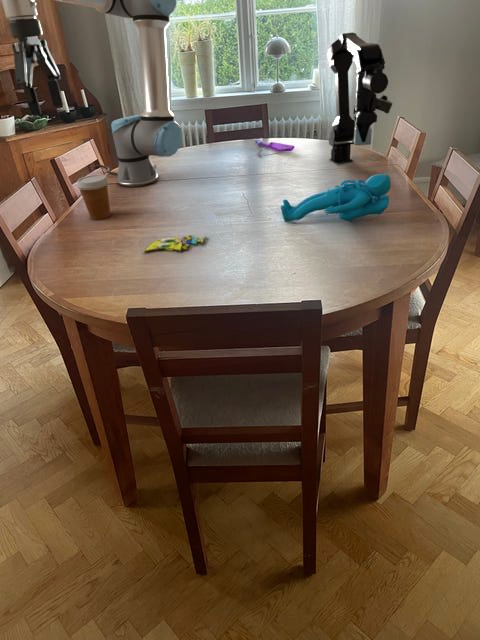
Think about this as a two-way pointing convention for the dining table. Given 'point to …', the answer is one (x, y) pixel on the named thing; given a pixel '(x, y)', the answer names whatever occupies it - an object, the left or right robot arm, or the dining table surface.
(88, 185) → the disposable coffee cup
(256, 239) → the dining table surface
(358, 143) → the block
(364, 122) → the right robot arm
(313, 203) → the toy
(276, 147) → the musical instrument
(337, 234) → the dining table surface
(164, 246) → the toy
